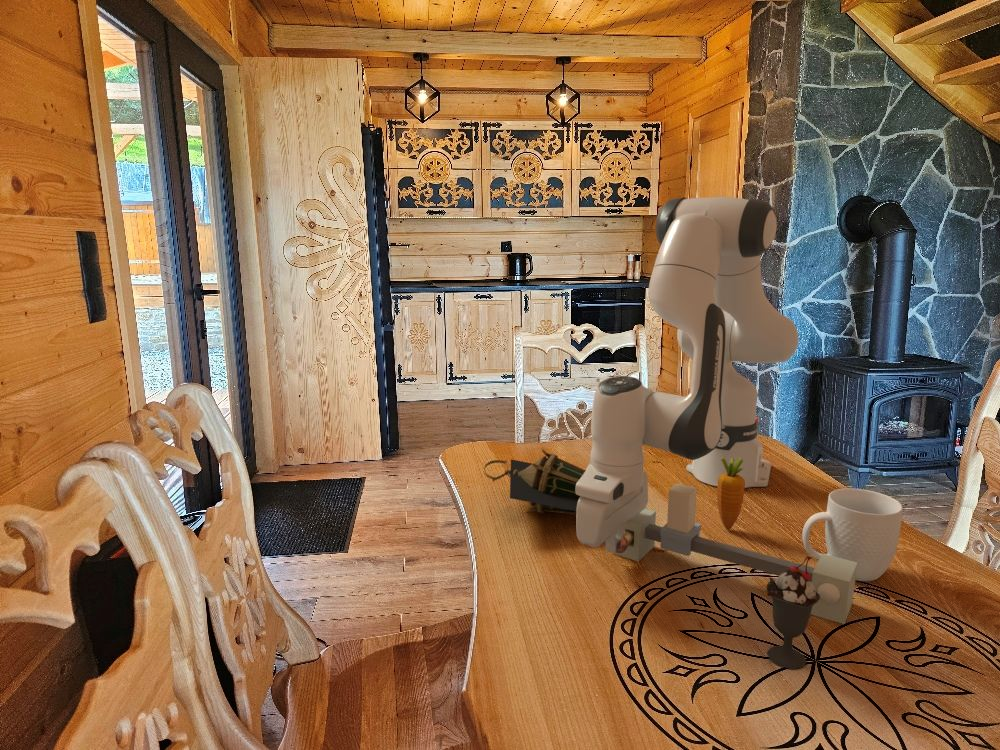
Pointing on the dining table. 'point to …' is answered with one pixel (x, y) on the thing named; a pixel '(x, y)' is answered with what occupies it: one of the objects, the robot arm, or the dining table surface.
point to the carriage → (680, 520)
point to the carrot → (730, 493)
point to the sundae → (791, 613)
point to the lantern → (543, 483)
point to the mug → (859, 530)
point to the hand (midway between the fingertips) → (613, 549)
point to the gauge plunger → (626, 540)
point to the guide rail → (760, 565)
